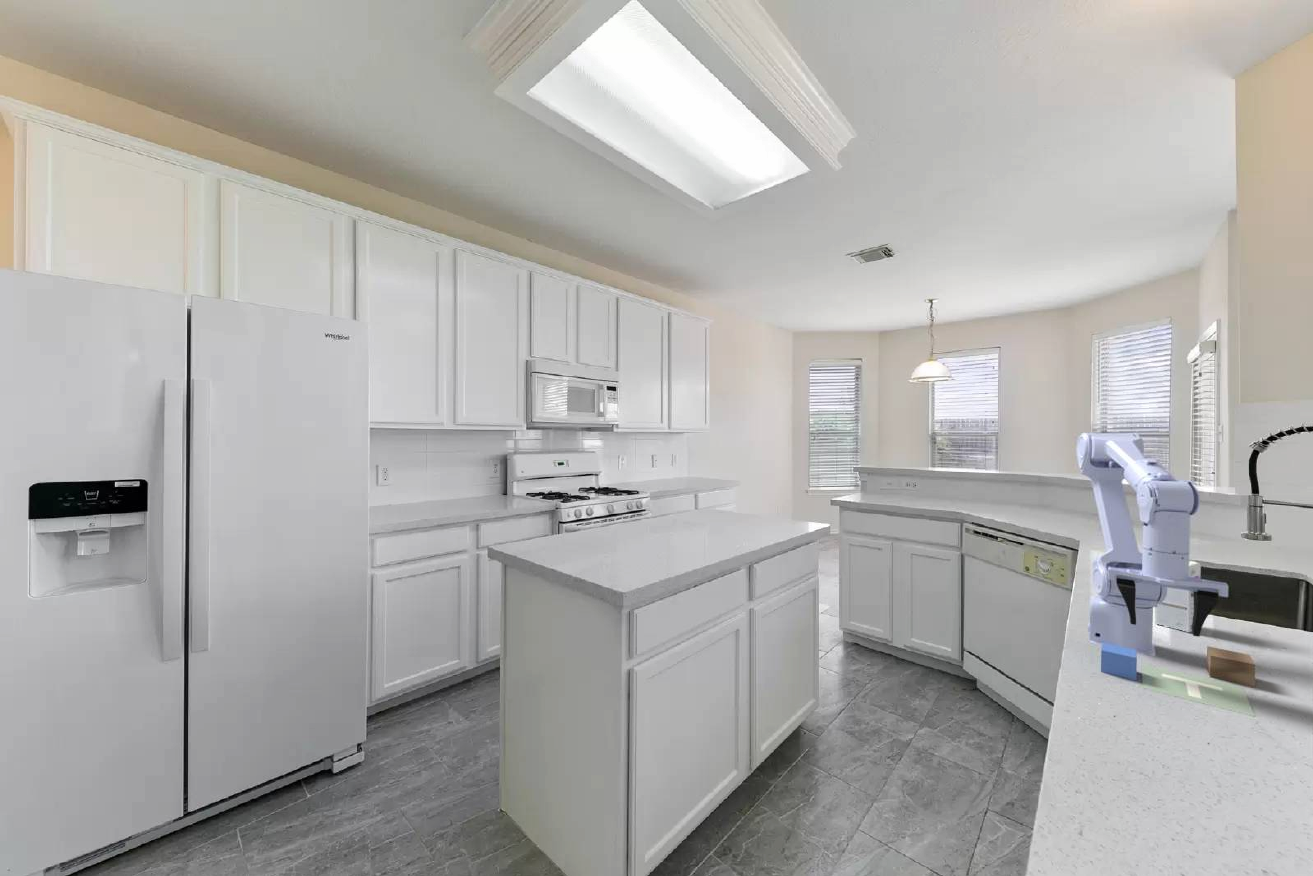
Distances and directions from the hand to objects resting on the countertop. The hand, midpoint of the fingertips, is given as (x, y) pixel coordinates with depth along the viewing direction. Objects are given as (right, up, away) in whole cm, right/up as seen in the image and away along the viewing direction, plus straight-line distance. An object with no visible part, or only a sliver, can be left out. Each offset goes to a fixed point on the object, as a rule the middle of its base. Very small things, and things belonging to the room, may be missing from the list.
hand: (1163, 628), depth 88 cm
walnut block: (+11, -9, -1) cm, 14 cm away
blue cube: (-7, -9, +1) cm, 11 cm away
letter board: (0, -9, -5) cm, 10 cm away
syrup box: (+26, -9, +23) cm, 36 cm away
